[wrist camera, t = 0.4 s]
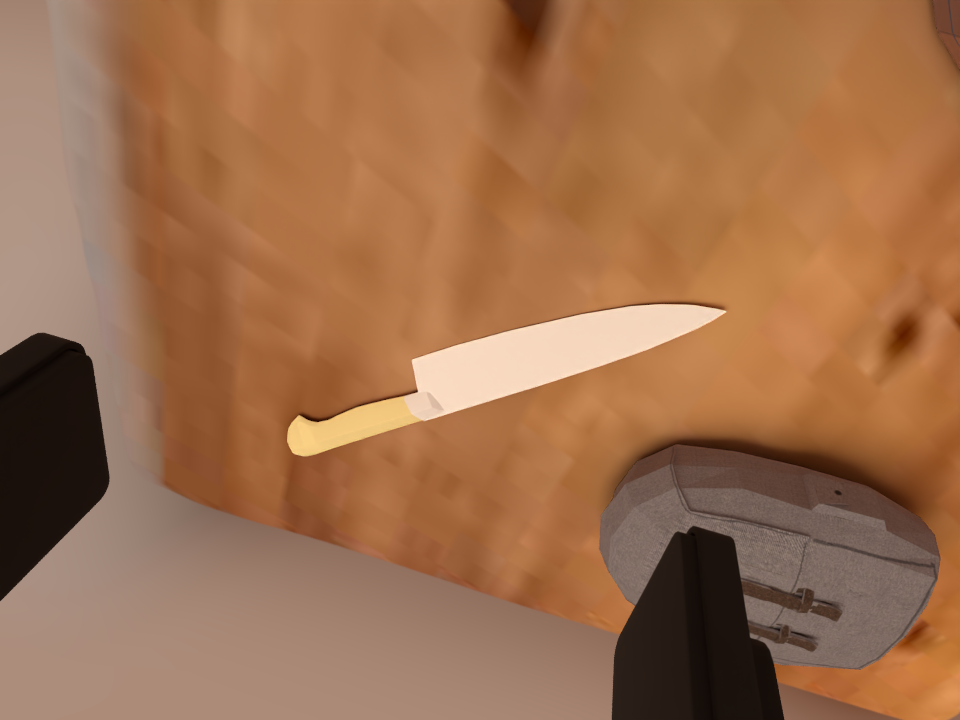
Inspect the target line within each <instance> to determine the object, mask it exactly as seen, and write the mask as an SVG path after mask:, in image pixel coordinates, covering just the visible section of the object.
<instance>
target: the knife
mask: <svg viewBox="0 0 960 720" xmlns="http://www.w3.org/2000/svg"><path fill="white" fill-rule="evenodd" d="M725 312H727V311H724V310H720V309H715V308H709V307H703V306H696V305H682V304H655V305H640V306H629V307H623V308H616V309H610V310H604V311H598V312H592V313H586V314H580V315H576V316H572V317H567V318H563V319H558V320H554V321H550V322H545V323H541V324H536V325H532V326H528V327H523V328H519V329H515V330H510V331H507V332H503V333H499V334H496V335H492V336H488V337H485V338H481V339H477V340H474V341H470V342H466V343H463V344H459V345H455V346H452V347H449V348H446V349H443V350H440V351H437V352H433V353H430V354H427V355H424V356H421V357H418V358H415V359H412V364H413V369H414V374H415V379H416V384H417V389H418V392H417V393H413V394H410V395H406V396H402V397H398V398H393V399H388V400H384V401H379V402H375V403H371V404H367V405H363V406H360V407H356V408H354V409H351V410H349V411H347V412H344V413H342V414H340V415H337V416H335V417H333V418H331V419H329V420H326V421H321V422H313V421H309V420H307V419H305V418H303V417H302V416H300V415H298V417H297V418H296V419H295V420H294V421H293V422H292V423H291V425H290V427H289V429H288V438H287V442H288V444H289V447H290V449H291V451H292V452H293V453H294V454H297V455H300V456H310V455H314V454H318V453H321V452H324V451H327V450H330V449H333V448H336V447H339V446H342V445H345V444H348V443H351V442H354V441H358V440H361V439H364V438H367V437H370V436H373V435H377V434H380V433H383V432H386V431H389V430H393V429H396V428H399V427H402V426H406V425H409V424H412V423H415V422H419V421H422V420H424V421H426V420H429V419H433V418H436V417H439V416H443V415H446V414H449V413H452V412H455V411H459V410H462V409H465V408H468V407H472V406H475V405H478V404H481V403H485V402H488V401H491V400H494V399H498V398H501V397H504V396H508V395H511V394H514V393H518V392H521V391H524V390H527V389H531V388H534V387H537V386H540V385H543V384H547V383H550V382H553V381H556V380H559V379H562V378H565V377H568V376H571V375H574V374H578V373H581V372H584V371H587V370H590V369H593V368H596V367H599V366H602V365H605V364H608V363H611V362H614V361H616V360H619V359H622V358H625V357H628V356H631V355H634V354H636V353H639V352H642V351H645V350H648V349H650V348H653V347H655V346H657V345H660V344H662V343H665V342H667V341H670V340H672V339H674V338H677V337H679V336H681V335H684V334H686V333H688V332H691V331H693V330H695V329H697V328H700V327H701V326H703V325H705V324H707V323H709V322H711V321H713V320H714V319H716V318H718V317H719V316H721V315H722V314H724V313H725Z"/></svg>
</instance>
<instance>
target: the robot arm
mask: <svg viewBox="0 0 960 720" xmlns="http://www.w3.org/2000/svg"><path fill="white" fill-rule="evenodd" d="M108 485H109V471H108V463H107V457H106V450H105V444H104V437H103V430H102V423H101V417H100V410H99V403H98V397H97V389H96V383H95V376H94V369H93V363H92V360H91V358H90V357H89V356H87V355H86V353H85V350H84V348H83V346H82V345H81V344H79V343H76V342H74V341H70V340H67V339H64V338H60V337H57V336H53V335H50V334H46V333H37V334H35V335H33V336H30V337H29V338H27V339H26V340H24V341H22V342H21V343H19V344H18V345H16V346H14V347H13V348H11V349H10V350H8V351H7V352H5V353H3V354H2V355H0V601H1V600H2V599H3V598H4V597H5V596H6V595H7V594H8V593H9V592H10V591H11V590H12V589H13V588H14V587H15V586H16V585H17V584H18V583H19V582H20V581H21V580H22V579H23V577H25V576H26V575H27V573H29V572H30V570H32V569H33V568H34V567H35V566H36V565H37V564H38V562H39V561H40V560H41V559H42V558H43V557H44V556H45V555H46V554H47V553H48V552H49V551H50V550H51V549H52V548H53V547H54V546H55V545H56V544H57V543H58V542H59V541H60V540H61V539H62V538H63V537H64V536H65V535H66V534H67V533H68V532H69V531H70V530H71V529H72V528H73V527H74V526H75V525H76V524H77V523H78V522H79V521H80V520H81V519H82V518H83V517H84V516H85V515H86V514H87V513H88V512H89V511H90V510H91V509H92V508H93V507H94V505H96V504H97V503H98V502H99V501H100V499H101V498H102V497H103V496H104V494H105V492H106V490H107V488H108ZM614 656H615V657H614V675H613V703H612V720H784V716H783V710H782V705H781V700H780V695H779V689H778V684H777V679H776V673H775V668H774V663H773V659H772V656H771V652H770V650H769V648H768V647H767V645H766V644H765V643H764V642H762V641H760V640H757V639H753V638H750V632H749V626H748V620H747V614H746V608H745V601H744V595H743V589H742V583H741V577H740V570H739V564H738V558H737V552H736V546H735V542H734V540H733V538H732V537H731V536H727V535H724V534H720V533H717V532H714V531H710V530H707V529H704V528H700V527H697V526H692V527H691V528H689V530H688V531H687V533H682V532H679V531H677V532H675V533H674V535H673V536H672V538H671V540H670V542H669V544H668V546H667V548H666V549H665V551H664V553H663V555H662V557H661V559H660V561H659V563H658V565H657V566H656V568H655V570H654V572H653V574H652V576H651V578H650V580H649V581H648V583H647V585H646V587H645V589H644V591H643V593H642V595H641V596H640V598H639V600H638V602H637V604H636V606H635V608H634V610H633V611H632V613H631V615H630V617H629V619H628V621H627V623H626V625H625V626H624V628H623V630H622V632H621V634H620V636H619V639H618V642H617V645H616V649H615V655H614Z"/></svg>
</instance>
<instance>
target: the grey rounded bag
mask: <svg viewBox="0 0 960 720" xmlns="http://www.w3.org/2000/svg"><path fill="white" fill-rule="evenodd" d="M692 526H697V527H700V528H704V529H707V530H710V531H714V532H717V533H720V534H724V535H727V536H731V537H732V538H733V540H734V542H735V546H736V552H737V558H738V564H739V570H740V577H741V583H742V589H743V595H744V601H745V608H746V614H747V620H748V626H749V632H750V638H753V639H757V640H760V641H762V642H764V643H765V644H766V645H767V647H768V648H769V650H770V652H771V656H772V659H773V663H776V664H780V665H796V666H812V667H827V668H843V669H859V670H861V669H863V668H864V667H866V666H868V665H870V664H872V663H874V662H876V661H878V660H880V659H881V658H882V657H883V656H884V655H885V654H886V653H888V652H889V651H890V650H891V649H892V648H893V647H894V646H895V645H896V644H897V643H898V642H900V641H901V640H902V639H903V638H904V637H905V636H906V635H907V633H908V632H909V630H910V629H911V627H912V626H913V624H914V623H915V622H916V620H917V619H918V617H919V616H920V614H921V613H922V612H923V610H924V609H925V607H926V606H927V604H928V601H929V599H930V596H931V594H932V591H933V589H934V587H935V584H936V582H937V579H938V572H939V565H940V554H939V550H938V546H937V542H936V538H935V535H934V533H933V532H932V531H931V530H930V529H929V527H928V526H927V525H926V524H925V523H924V521H923V520H922V519H921V518H920V517H918V516H917V515H915V514H913V513H912V512H910V511H908V510H907V509H905V508H903V507H902V506H900V505H898V504H897V503H895V502H894V501H892V500H890V499H889V498H887V497H885V496H884V495H882V494H880V493H879V492H877V491H875V490H874V489H872V488H870V487H869V486H866V485H863V484H859V483H856V482H852V481H849V480H846V479H842V478H839V477H835V476H832V475H828V474H825V473H821V472H818V471H814V470H811V469H807V468H804V467H800V466H796V465H792V464H788V463H783V462H779V461H775V460H771V459H766V458H762V457H758V456H754V455H749V454H745V453H741V452H737V451H729V450H721V449H713V448H704V447H696V446H688V445H679V444H676V445H673V446H671V447H669V448H667V449H664V450H662V451H660V452H657V453H655V454H653V455H651V456H648V457H646V458H644V459H642V460H639V461H637V462H636V463H635V464H634V466H633V467H632V468H631V470H630V471H629V472H628V473H627V475H626V476H625V477H624V479H623V480H622V481H621V482H620V484H619V485H618V486H617V488H616V489H615V492H614V496H613V499H612V501H611V502H610V503H609V505H608V506H607V508H606V509H605V510H604V512H603V513H602V514H601V527H600V546H599V549H600V552H601V554H602V557H603V559H604V562H605V564H606V567H607V569H608V571H609V573H610V574H611V576H612V577H613V579H614V581H615V582H616V584H617V585H618V587H619V589H620V590H621V592H622V593H623V595H624V597H625V598H626V600H628V601H629V602H631V603H632V604H633V605H635V606H636V604H637V602H638V600H639V598H640V596H641V595H642V593H643V591H644V589H645V587H646V585H647V583H648V581H649V580H650V578H651V576H652V574H653V572H654V570H655V568H656V566H657V565H658V563H659V561H660V559H661V557H662V555H663V553H664V551H665V549H666V548H667V546H668V544H669V542H670V540H671V538H672V536H673V535H674V533H675V532H677V531H679V532H682V533H687V531H688V530H689V528H691V527H692Z"/></svg>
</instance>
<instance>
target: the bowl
mask: <svg viewBox="0 0 960 720" xmlns="http://www.w3.org/2000/svg"><path fill="white" fill-rule="evenodd" d="M933 8H934V15H935V23H936V29H937V30H938V34H939V35H940V37H941V39H942V40H943V42H944V44H945V46H946V47H947V49H948V51H949V52H950V54H951V56H952V58H953V59H954V61H955V63H956V64H957V66H958V68H959V70H960V0H933Z"/></svg>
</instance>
